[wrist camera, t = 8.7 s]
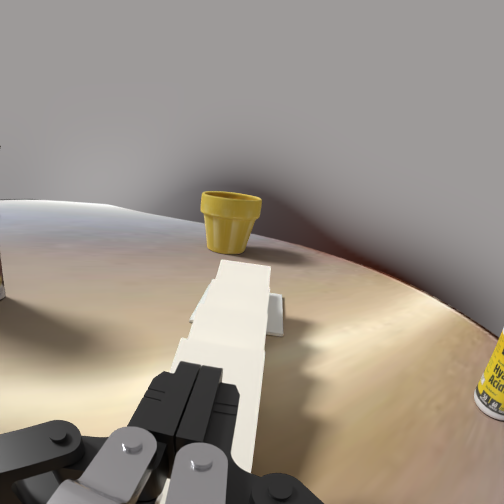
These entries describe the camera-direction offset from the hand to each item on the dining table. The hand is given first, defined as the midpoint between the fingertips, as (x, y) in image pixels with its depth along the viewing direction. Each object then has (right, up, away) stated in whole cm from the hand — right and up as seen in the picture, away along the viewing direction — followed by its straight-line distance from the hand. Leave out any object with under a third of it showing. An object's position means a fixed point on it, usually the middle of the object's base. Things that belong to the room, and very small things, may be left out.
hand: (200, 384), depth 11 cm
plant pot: (-3, +5, +47) cm, 47 cm away
